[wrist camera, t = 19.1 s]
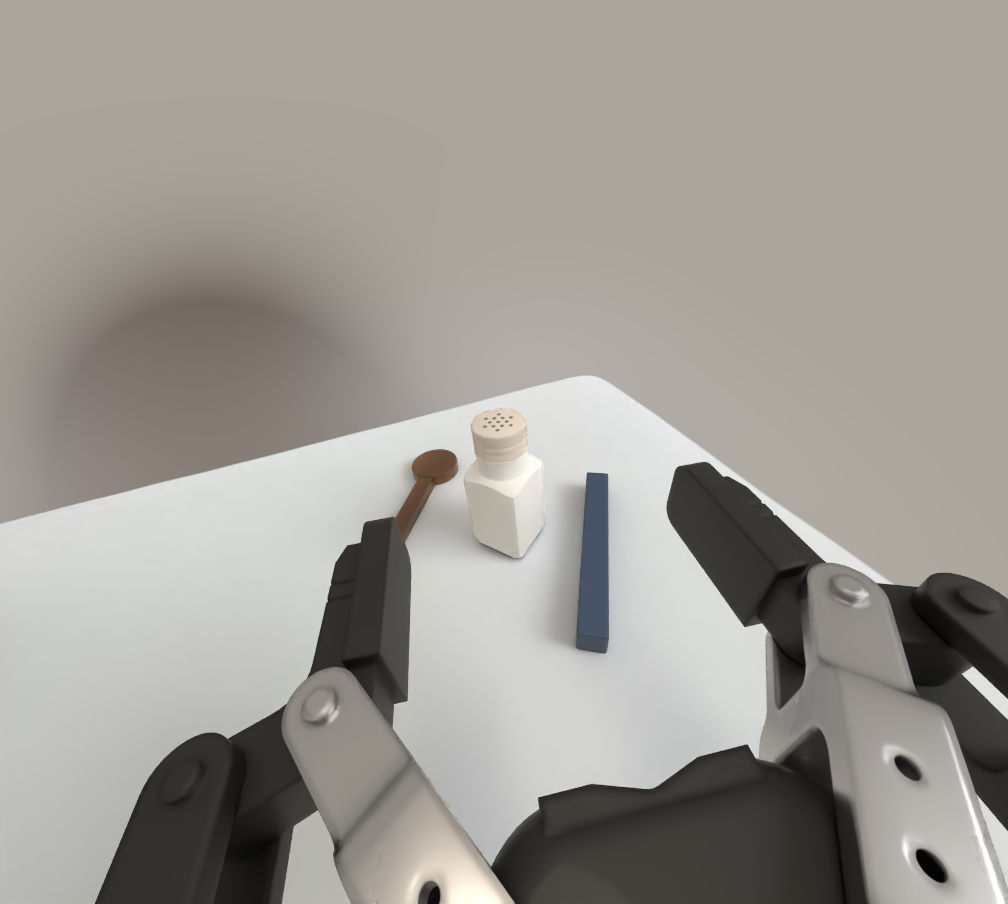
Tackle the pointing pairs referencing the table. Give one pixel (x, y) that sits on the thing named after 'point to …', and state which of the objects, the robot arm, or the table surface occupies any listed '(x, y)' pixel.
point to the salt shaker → (504, 483)
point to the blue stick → (594, 568)
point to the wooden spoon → (425, 484)
